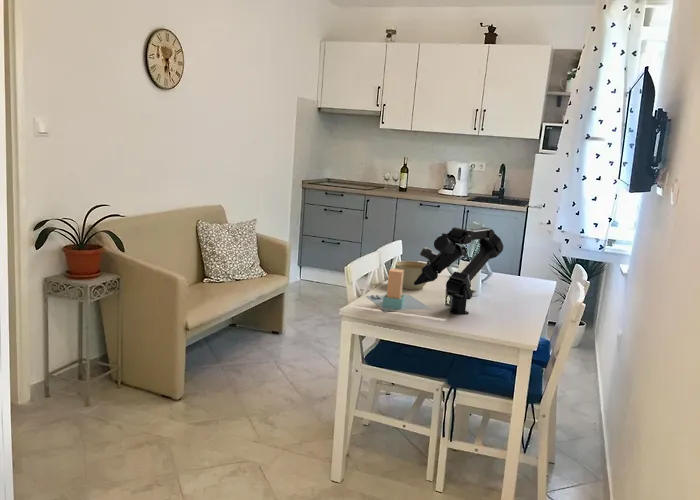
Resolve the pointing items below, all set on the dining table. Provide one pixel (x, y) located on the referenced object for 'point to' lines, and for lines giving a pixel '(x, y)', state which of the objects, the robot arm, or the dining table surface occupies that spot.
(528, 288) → the dining table surface
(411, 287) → the planter bowl
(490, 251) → the robot arm
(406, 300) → the baseplate
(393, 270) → the terracotta brick
